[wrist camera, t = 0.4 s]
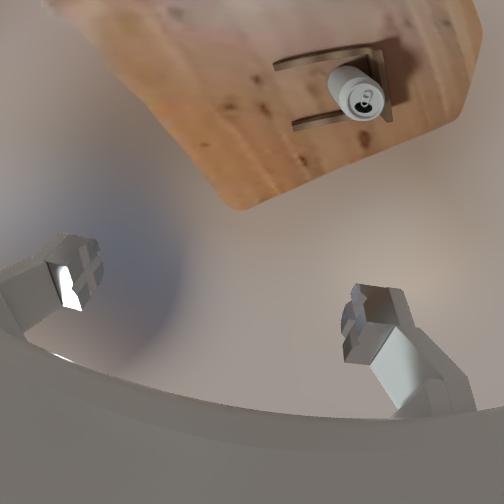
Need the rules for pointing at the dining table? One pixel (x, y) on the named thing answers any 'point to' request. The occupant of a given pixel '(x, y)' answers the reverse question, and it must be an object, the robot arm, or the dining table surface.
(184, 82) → the dining table surface
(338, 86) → the can
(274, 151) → the dining table surface
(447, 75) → the dining table surface
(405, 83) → the dining table surface
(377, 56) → the wooden frame
